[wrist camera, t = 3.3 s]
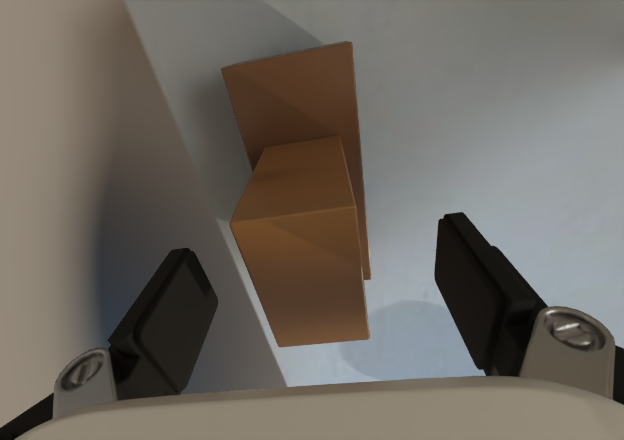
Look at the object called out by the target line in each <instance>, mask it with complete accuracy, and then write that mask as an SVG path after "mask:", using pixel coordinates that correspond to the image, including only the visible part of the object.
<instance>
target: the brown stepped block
mask: <svg viewBox="0 0 624 440" xmlns="http://www.w3.org/2000/svg"><path fill="white" fill-rule="evenodd" d="M221 71H222V74H223V77H224V80H225V83H226V87H227V90H228V93H229V96H230V100H231V103H232V106H233V109H234V113H235V116H236V119H237V122H238V125H239V129H240V132H241V135H242V138H243V142H244V145H245V148H246V151H247V155H248V158H249V161H250V164H251V167H252V171H253V174H252V176H251V178H250V180H249V182H248V184H247V186H246V189H245V191H244V193H243V195H242V197H241V199H240V201H239V204H238V206H237V208H236V210H235V212H234V214H233V216H232V219H231V221H230V223H229V225H230V228H231V230H232V233H233V235H234V238H235V240H236V243H237V245H238V247H239V250H240V252H241V255H242V257H243V260H244V262H245V265H246V267H247V270H248V272H249V275H250V277H251V280H252V282H253V285H254V287H255V290H256V292H257V295H258V297H259V300H260V302H261V305H262V307H263V310H264V312H265V315H266V317H267V320H268V322H269V325H270V327H271V330H272V332H273V334H274V337H275V339H276V342H277V344H278V347H289V346H300V345H311V344H322V343H333V342H344V341H355V340H366V339H369V338H370V335H369V326H368V316H367V306H366V297H365V287H364V280H368V279H371V267H370V255H369V243H368V230H367V218H366V206H365V194H364V182H363V170H362V158H361V145H360V133H359V121H358V109H357V97H356V85H355V73H354V60H353V48H352V42H349V41H344V42H339V43H334V44H329V45H324V46H319V47H315V48H310V49H305V50H300V51H295V52H290V53H285V54H280V55H275V56H270V57H265V58H261V59H256V60H251V61H246V62H241V63H236V64H232V65H229V66H226V67H223V68H221Z"/></svg>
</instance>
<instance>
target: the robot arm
mask: <svg viewBox="0 0 624 440" xmlns="http://www.w3.org/2000/svg"><path fill="white" fill-rule="evenodd" d="M435 281H436V284H437V286H438V288H439V290H440V292H441V294H442V296H443V299H444V301H445V303H446V305H447V307H448V309H449V311H450V313H451V315H452V317H453V319H454V322H455V324H456V326H457V328H458V330H459V332H460V334H461V336H462V338H463V340H464V343H465V345H466V347H467V349H468V351H469V353H470V355H471V357H472V359H473V361H474V363H475V365H476V367H477V368H478V369H479V370H481V369H483V370H484V372H485V374H486V376H468V377H446V378H424V379H406V380H390V381H374V382H358V383H342V384H327V385H312V386H297V387H284V388H283V387H282V388H270V389H254V390H239V391H225V392H212V393H199V394H185V395H180V394H181V392H182V390H184V389H185V388H186V387H187V385H188V382H189V379H190V377H191V374H192V372H193V369H194V366H195V364H196V361H197V359H198V356H199V353H200V351H201V348H202V345H203V343H204V340H205V338H206V335H207V332H208V330H209V327H210V324H211V322H212V319H213V317H214V314H215V311H216V309H217V306H218V299H217V296H216V294H215V292H214V290H213V288H212V286H211V284H210V282H209V280H208V278H207V276H206V274H205V272H204V270H203V268H202V266H201V264H200V262H199V260H198V258H197V256H196V254H195V253H194V252H193V251H190V249H188V248H182V249H175V250H171V252H170V253H169V254H168V255H167V257H166V258H165V260H164V261H163V263H162V264H161V265H160V267H159V268H158V270H157V271H156V272H155V274H154V275H153V277H152V278H151V280H150V281H149V282H148V284H147V285H146V287H145V288H144V290H143V291H142V292H141V294H140V295H139V297H138V298H137V299H136V301H135V302H134V304H133V305H132V306H131V308H130V309H129V311H128V312H127V314H126V315H125V317H124V318H123V319H122V321H121V322H120V324H119V325H118V326H117V328H116V329H115V331H114V332H113V333H112V335H111V336H110V338H109V339H108V341H109V343H110V344H111V346H110V347H109V349H108V350H107V349H105V348H95V349H91V350H89V351H87V352H85V353H83V354H81V355H80V356H78V357H77V358H75V359H74V360H73V361H71V362H70V363H69V364H68V365H67V366H66V367H65V368H64V370H63V371H62V372H61V373H60V374H59V376H58V378H57V380H56V382H55V386H54V393H52V394H51V395H49V396H48V397H46V398H45V399H43V400H42V401H40V402H39V403H37V404H36V405H34V406H33V407H31V408H30V409H28V410H27V411H25V412H24V413H22V414H21V415H19V416H18V417H16V418H15V419H13V420H12V421H10V422H9V423H7V424H6V425H4V426H3V427H1V428H0V440H624V349H623V348H621V347H618V346H616V345H615V341H614V337H613V336H612V334H611V333H610V331H609V330H608V329H607V328H606V327H605V326H604V325H603V324H602V323H601V322H600V321H598V320H596V319H595V318H593V317H592V316H590V315H588V314H586V313H584V312H581V311H579V310H576V309H572V308H568V307H561V306H553V307H548V306H547V305H546V304H545V303H544V301H543V300H542V299H541V298H540V297H539V296H538V294H537V293H536V292H535V291H534V290H533V288H532V287H531V286H530V285H529V284H528V283H527V281H526V280H525V279H524V278H523V277H522V276H521V274H520V273H519V272H518V271H517V270H516V269H515V267H514V266H513V265H512V264H511V263H510V262H509V260H508V259H507V258H506V257H505V256H504V255H503V253H502V252H501V251H500V250H499V249H498V248H497V247H495V246H491V245H490V244H489V243H488V242H487V240H486V239H485V238H484V237H483V236H482V234H481V233H480V232H479V231H478V230H477V228H476V227H475V226H474V225H473V224H472V222H471V221H470V220H469V219H468V218H467V216H466V215H465V214H464V213H463V212H459V213H452V214H445V215H444V218H443V219H440V220H439V222H438V235H437V248H436V261H435Z"/></svg>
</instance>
